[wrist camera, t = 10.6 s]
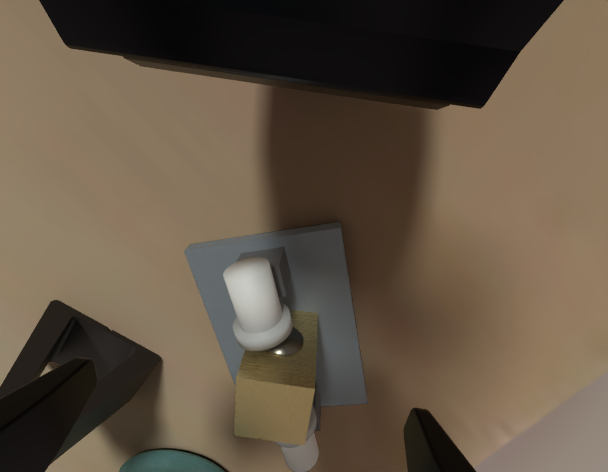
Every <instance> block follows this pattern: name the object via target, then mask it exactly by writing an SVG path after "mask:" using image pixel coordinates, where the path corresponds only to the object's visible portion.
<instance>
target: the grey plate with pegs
mask: <svg viewBox="0 0 608 472" xmlns="http://www.w3.org/2000/svg"><path fill="white" fill-rule="evenodd" d="M184 252H185V255H186V258H187V260H188V263H189V265H190V268H191V271H192V273H193V276H194V279H195V281H196V284H197V286H198V289H199V292H200V294H201V297H202V300H203V302H204V305H205V308H206V310H207V313H208V315H209V318H210V321H211V323H212V326H213V329H214V331H215V334H216V336H217V339H218V342H219V344H220V347H221V350H222V352H223V355H224V358H225V360H226V363H227V365H228V368H229V371H230V373H231V376H232V379H233V381H234V384H235V386H236V376H237V373H238V370H239V367H240V364H241V361H242V358H243V355H244V352H245V350H248V351H263V350H267V349H270V348H273V347H275V346H277V345H279V344H280V343H282V342H283V341H284V340H285V339H286V338H287V337H288V336H289V334H290V333H291V331H292V328H293V322H292V318H291V314H290V310H289V309H291V310H298V311H306V312H313V313H318V323H317V351H316V379H315V392H314V398H313V403H312V409H311V414H310V420H309V425H308V430H307V436H306V441H305V446H304V445H297V444H290V443H283V442H276V441H274V442H275V443H276V444H277V445H278V446H280V447H281V449H282V452H283V455H284V458H285V461H286V464H287V466H288V467H289V468H290V469H291V470H292V471H294V472H306V471H308V470H310V469H311V468H312V467H313V466H314V465H315V464H316V462H317V460H318V456H319V449H318V445H317V441H316V437H315V434H314V431H320V416H321V407H326V406H340V405H353V404H367V403H368V401H367V394H366V387H365V381H364V374H363V368H362V361H361V355H360V348H359V342H358V335H357V329H356V322H355V316H354V309H353V303H352V296H351V289H350V283H349V276H348V270H347V263H346V257H345V250H344V244H343V237H342V231H341V224H340V222H335V223H328V224H321V225H315V226H308V227H302V228H295V229H289V230H282V231H275V232H269V233H262V234H256V235H249V236H243V237H236V238H229V239H223V240H216V241H210V242H203V243H197V244H190V245H189V246H188V248H187V249H186V250H185V251H184Z"/></svg>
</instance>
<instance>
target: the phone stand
mask: <svg viewBox="0 0 608 472" xmlns="http://www.w3.org/2000/svg"><path fill="white" fill-rule="evenodd" d="M76 357H84V358H90V359H92V360H93V361H94V363H95V368H96V374H97V385H96V388H95V390H94V391H93V393H92V395H91V397H90V398H89V400H88V402H87V404H86V405H85V407H84V409H83V411H82V412H81V414H80V416H79V418H78V420H77V421H76V423H75V425H74V427H73V428H72V430H71V432H70V434H69V435H68V437H67V439H66V440H65V442H64V444H63V445H62V447H61V448H60V450H59V452H58V453H57V455H56V456H55V458H54V459H53V460H52V462H54V461H55V460H56V459H57V458H59V457H60V456H61V455H62V454H64V453H65V452H66V451H67V450H69V449H70V448H71V447H72V446H74V445H75V444H76V443H77V442H79V441H80V440H81V439H82V438H84V437H85V436H86V435H87V434H89V433H90V432H91V431H92V430H94V429H95V428H96V427H97V426H99V425H100V424H101V423H102V422H104V421H105V420H106V419H107V418H109V417H110V416H111V415H112V414H114V413H115V412H116V411H117V410H119V409H120V408H121V407H122V406H124V405H125V404H126V403H127V402H129V401H130V400H131V398H132V397H133V396H134V394H135V393H136V391H137V390H138V389H139V387H140V386H141V385H142V383H143V382H144V381H145V379H146V378H147V377H148V375H149V374H150V372H151V371H152V370H153V368H154V367H155V366H156V364H157V363H158V362H159V360H160V357H159V355H157V354H155V353H154V352H152V351H150V350H148V349H146V348H145V347H143V346H141V345H139V344H137V343H135V342H134V341H132V340H130V339H128V338H126V337H124V336H123V335H121V334H119V333H117V332H115V331H113V330H112V331H109V330H108V327H106V326H104V325H103V324H101V323H99V322H97V321H95V320H93V319H92V318H90V317H88V316H86V315H84V314H82V313H81V312H79V311H77V310H75V309H73V308H72V307H70V306H68V305H66V304H64V303H62V302H61V301H58V300H54V301H51V302H50V304H49V305H48V307H47V309H46V311H45V312H44V314H43V316H42V317H41V319H40V321H39V322H38V324H37V326H36V327H35V329H34V331H33V332H32V334H31V336H30V338H29V339H28V341H27V343H26V344H25V346H24V348H23V349H22V351H21V353H20V354H19V356H18V358H17V360H16V361H15V363H14V365H13V366H12V368H11V370H10V371H9V373H8V375H7V376H6V378H5V380H4V381H3V383H2V385H1V387H0V398H2V397H4V396H6V395H8V394H10V393H11V392H13V391H15V390H17V389H19V388H21V387H22V386H24V385H26V384H28V383H30V382H32V381H33V380H35V379H37V378H39V377H40V375H41V373H42V372H43V370H44V369H45V367H46V365H47V364H48V363H49V362H51V361H54V362H56V363H58V364H60V365H63V364H65V363H66V362H68V361H70V360H72V359H74V358H76ZM52 462H51V463H52ZM51 463H50V464H51Z"/></svg>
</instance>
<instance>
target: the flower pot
mask: <svg viewBox="0 0 608 472" xmlns="http://www.w3.org/2000/svg"><path fill="white" fill-rule="evenodd" d="M119 472H225V471H224V470H223V469H221V468H220V467H219V466H217V465H216V464H214V463H213V462H211V461H209V460H207V459H205V458H203V457H200V456H197V455H194V454H191V453H188V452H182V451H177V450H152V451H147V452H143V453H140V454H137V455H135V456H133V457H132V458H130V459H129V460H127V461H126V462H125V463H124V464H123V465H122V467H121V468H120V470H119Z"/></svg>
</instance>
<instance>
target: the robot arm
mask: <svg viewBox="0 0 608 472" xmlns="http://www.w3.org/2000/svg"><path fill="white" fill-rule="evenodd" d="M39 1H40V2H41V4H42V6H43V7H44V9H45V11H46V13H47V14H48V16H49V18H50V20H51V21H52V23H53V25H54V27H55V28H56V30H57V32H58V33H59V35H60V37H61V39H62V40H63V42H64V43H65V45H66V46H68V47H69V48H71V49H78V50H85V51H91V52H98V53H105V54H112V55H119V56H123V57H124V58H125V59H127V60H129V61H131V62H133V63H135V64H137V65H140V66H143V67H150V68H156V69H162V70H169V71H176V72H183V73H190V74H196V75H203V76H210V77H217V78H224V79H230V80H237V81H244V82H251V83H258V84H264V85H271V86H278V87H285V88H291V89H298V90H305V91H312V92H319V93H325V94H332V95H339V96H346V97H353V98H359V99H366V100H373V101H380V102H387V103H393V104H400V105H407V106H414V107H421V108H428V109H435V110H438V109H440V108H443V107H446V106H449V105H450V104H452V105H458V106H465V107H472V108H479V109H481V108H482V107H483V106H484V105H485V104H486V102H487V101H488V99H489V98H490V96H491V95H492V93H493V92H494V90H495V89H496V87H497V86H498V84H499V83H500V81H501V80H502V78H503V77H504V75H505V74H506V72H507V71H508V69H509V68H510V66H511V65H512V63H513V62H514V60H515V59H516V57H517V56H518V54H519V53H520V51H521V50H522V49H523V48H524V47H525V46H526V44H527V43H528V42H529V41H530V40H531V38H532V37H533V36H534V35H535V34H536V32H537V31H538V30H539V29H540V28H541V27H542V25H543V24H544V23H545V22H546V21H547V19H548V18H549V17H550V16H551V15H552V13H553V12H554V11H555V10H556V9H557V8H558V6H559V5H560V4H561V3H562V2H563V0H39ZM96 385H97V374H96V368H95V363H94V361H93V360H92V359H90V358H84V357H76V358H74V359H72V360H70V361H68V362H66V363H65V364H63V365H61V366H59V367H57V368H55V369H54V370H52V371H50V372H48V373H46V374H44V375H43V376H41V377H39V378H37V379H35V380H33V381H32V382H30V383H28V384H26V385H24V386H22V387H21V388H19V389H17V390H15V391H13V392H11V393H10V394H8V395H6V396H4V397H2V398H0V472H45V471H46V469H47V468H48V466H49V465H50V463H51V462H52V460H53V459H54V458H55V456H56V455H57V453H58V452H59V450H60V448H61V447H62V445H63V444H64V442H65V440H66V439H67V437H68V435H69V434H70V432H71V430H72V428H73V427H74V425H75V423H76V421H77V420H78V418H79V416H80V414H81V412H82V411H83V409H84V407H85V405H86V404H87V402H88V400H89V398H90V397H91V395H92V393H93V391H94V390H95V388H96ZM404 441H405V450H406V459H407V468H408V472H476V471H475V469H474V468H473V467H472V466H471V464H470V463H469V462H468V460H467V459H466V458H465V457H464V455H463V454H462V453H461V451H460V450H459V449H458V448H457V446H456V445H455V444H454V442H453V441H452V440H451V439H450V437H449V436H448V435H447V433H446V432H445V431H444V430H443V428H442V427H441V426H440V425H439V423H438V422H437V421H436V419H435V418H434V417H433V416H432V414H431V413H430V412H429V411H428V410H426V409H420V408H413V409H412V410H411V412H410V414H409V416H408V419H407V421H406V424H405V427H404Z"/></svg>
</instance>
